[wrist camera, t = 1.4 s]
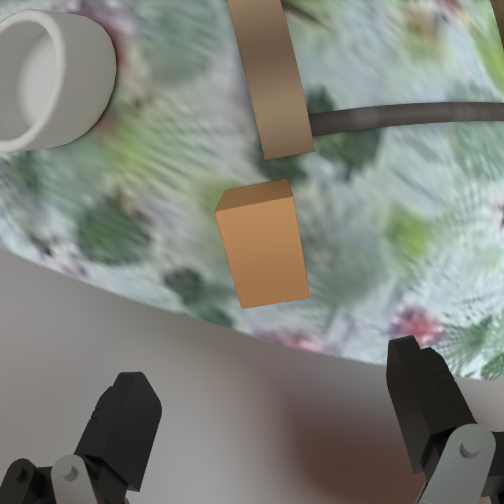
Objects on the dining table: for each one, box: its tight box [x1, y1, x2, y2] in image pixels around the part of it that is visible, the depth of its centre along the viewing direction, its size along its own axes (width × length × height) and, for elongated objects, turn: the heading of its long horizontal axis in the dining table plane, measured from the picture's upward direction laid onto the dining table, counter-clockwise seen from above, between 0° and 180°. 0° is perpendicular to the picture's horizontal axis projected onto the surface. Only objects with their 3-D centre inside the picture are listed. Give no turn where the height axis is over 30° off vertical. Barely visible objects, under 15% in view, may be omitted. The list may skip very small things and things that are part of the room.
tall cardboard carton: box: [215, 178, 310, 309], centre depth 19 cm, size 6×4×4 cm, turn 12°
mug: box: [0, 9, 116, 153], centre depth 14 cm, size 12×10×6 cm
